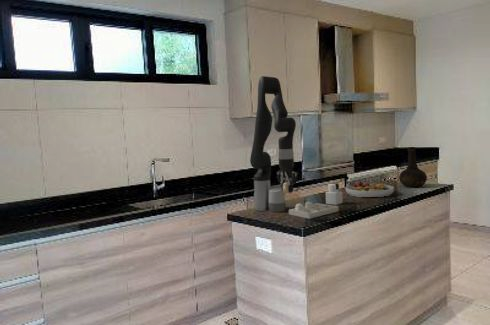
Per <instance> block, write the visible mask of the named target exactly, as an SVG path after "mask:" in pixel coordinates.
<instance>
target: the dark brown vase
mask: <svg viewBox="0 0 490 325" xmlns="http://www.w3.org/2000/svg"><path fill="white" fill-rule="evenodd" d="M406 151H407V152H408V157H407V158H408V159H407V167H406V169H404V170H401V172H400V174H399V176H398V180H399V181H400V183H401V184H402V186H404V187H406V186H408V187H407V188H420V187H423V186H424V185H425V184H426V182H427V179H428V176H427V173H426V171H424V170H422V169H420V168H419V167H418V163H417V158H416V151H417V149H416V147H414V146H410V147H408V149H407V150H406Z"/></svg>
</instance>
